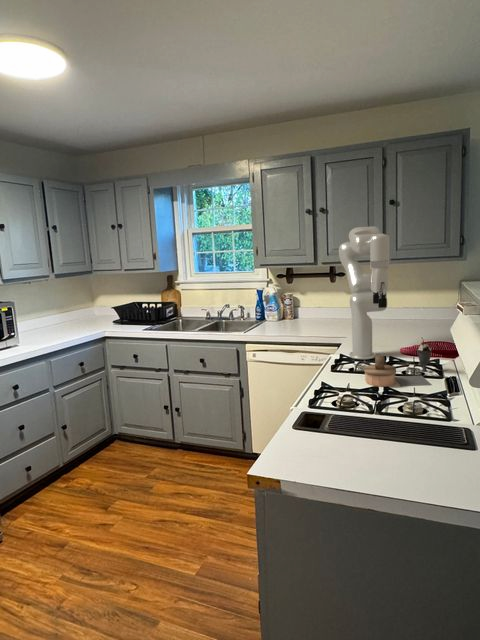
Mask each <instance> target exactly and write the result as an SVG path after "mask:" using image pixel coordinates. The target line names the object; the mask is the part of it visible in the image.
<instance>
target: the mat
mask: <svg viewBox="0 0 480 640" xmlns="http://www.w3.org/2000/svg"><path fill="white" fill-rule="evenodd" d="M395 383H397V384H398V385H399V386H400V387H417V386H418V387H421V386H433V384H432V383H430V382H429V380H428V379H426V378H425V377H424V376H423V375H400V376H395Z"/></svg>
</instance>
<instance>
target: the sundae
mask: <svg viewBox="0 0 480 640" xmlns="http://www.w3.org/2000/svg"><path fill="white" fill-rule="evenodd" d="M421 339H422V341H421V344H420V345H419V347H416V349H415V351H417V354H418V361H419V363H420V364H421V365H422V369H421V370H420V372H421V373H427V372H429V371H428V369H427V364H429V363H430V362H431V361H430V360H431V355H432V352H433V351H434V349H432V348H431V347H430V346H429V345H428V344H427V343H426V342H425V340H424V338H423V337H421Z"/></svg>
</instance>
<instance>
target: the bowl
mask: <svg viewBox="0 0 480 640" xmlns="http://www.w3.org/2000/svg"><path fill="white" fill-rule="evenodd" d="M364 377H365V379H364V381H365V383H366V384H367V385H369V386H371V387H380V388H382V387H383V388H384V387H390V386H393V385H394V384H395V383H396V380H395V377H396V373H395V374H394V375H390V376H372V375H368V374H366V373H365V372H364Z"/></svg>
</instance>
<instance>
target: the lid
mask: <svg viewBox="0 0 480 640" xmlns="http://www.w3.org/2000/svg"><path fill="white" fill-rule="evenodd" d="M374 361H375V362H374V363H373V364H368V365H365V366H364V367H363V372H364V374H365V373H366V374H368V375H372V376H390V375H394V374H395V375H396V373H397V367H395V366H393V365H389V364H385V362H386V360H385V356H384V355H378V354H377V355H376V356H375V357H374Z"/></svg>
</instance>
